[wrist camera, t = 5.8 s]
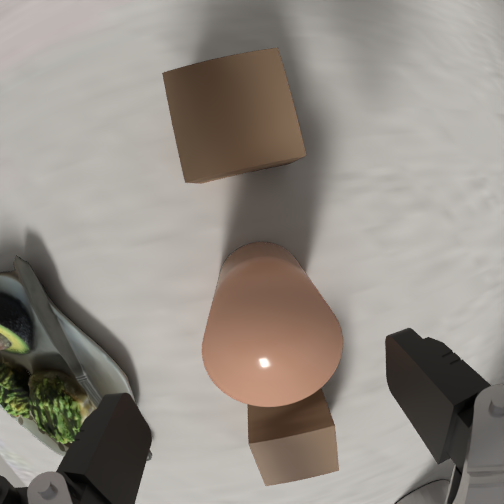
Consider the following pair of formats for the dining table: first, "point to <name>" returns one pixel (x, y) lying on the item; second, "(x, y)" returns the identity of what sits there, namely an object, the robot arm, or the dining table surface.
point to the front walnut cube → (233, 116)
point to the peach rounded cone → (269, 329)
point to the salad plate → (49, 363)
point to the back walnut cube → (293, 440)
